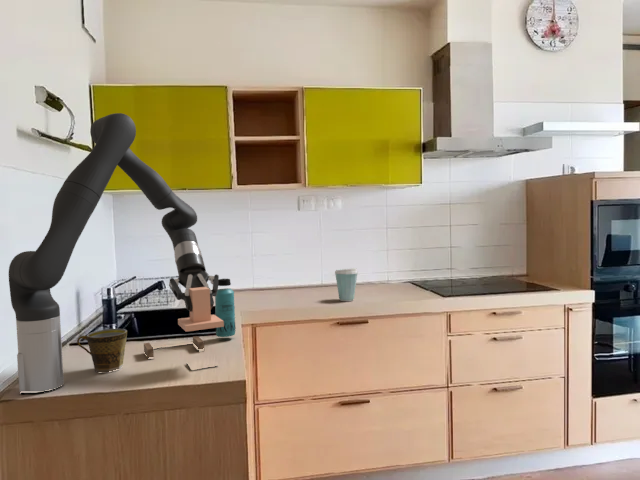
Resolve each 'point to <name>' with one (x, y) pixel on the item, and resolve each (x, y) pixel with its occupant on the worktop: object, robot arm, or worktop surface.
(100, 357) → the ceramic cup
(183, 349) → the worktop surface
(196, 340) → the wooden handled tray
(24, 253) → the robot arm
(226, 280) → the beverage bottle
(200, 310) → the footed block
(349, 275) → the disposable coffee cup
